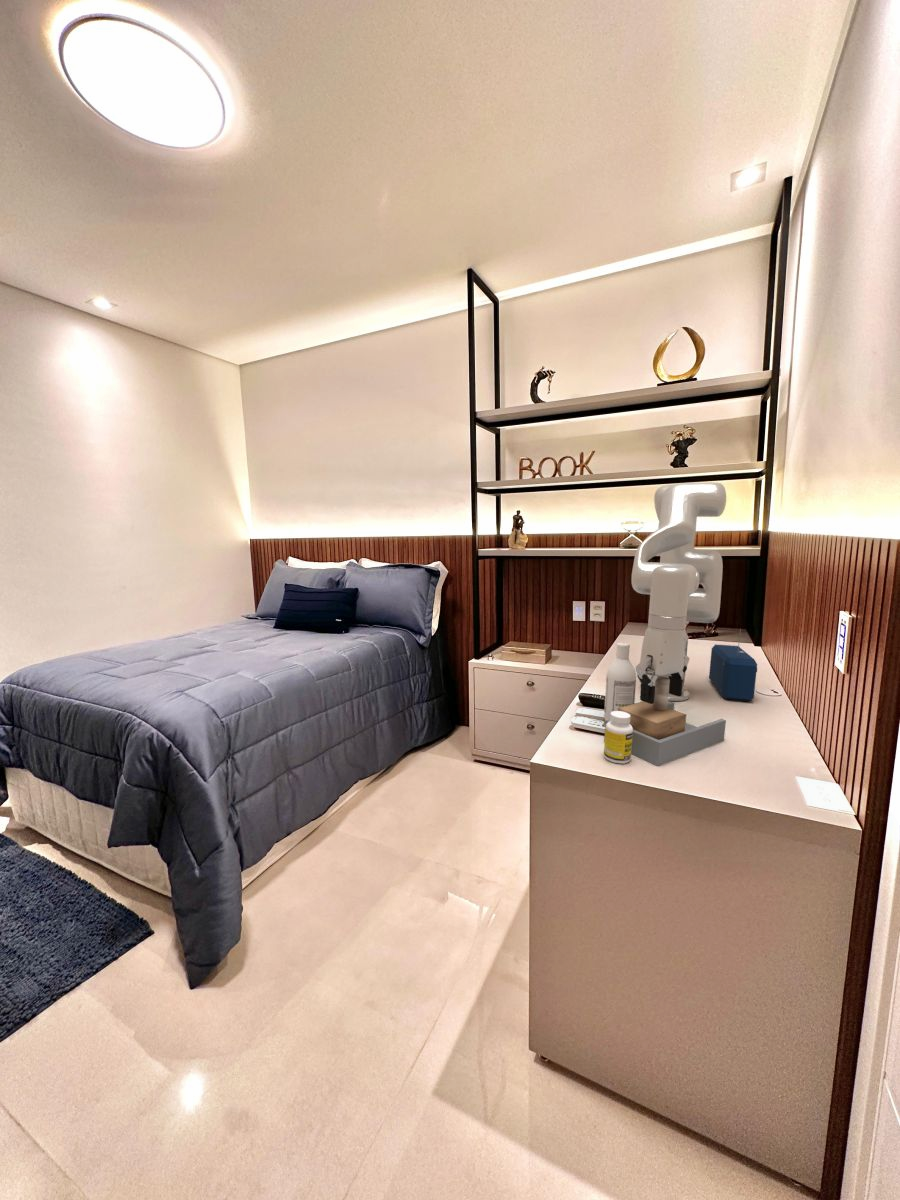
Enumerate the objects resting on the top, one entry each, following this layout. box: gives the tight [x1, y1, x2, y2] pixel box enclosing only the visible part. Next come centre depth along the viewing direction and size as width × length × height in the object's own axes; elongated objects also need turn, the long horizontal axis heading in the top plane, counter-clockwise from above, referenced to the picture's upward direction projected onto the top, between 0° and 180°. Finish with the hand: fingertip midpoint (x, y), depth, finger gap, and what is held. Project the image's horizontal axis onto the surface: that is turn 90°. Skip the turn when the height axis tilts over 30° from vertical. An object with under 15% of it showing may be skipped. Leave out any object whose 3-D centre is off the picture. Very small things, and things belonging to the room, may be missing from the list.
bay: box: [603, 701, 727, 767], centre depth 115 cm, size 14×24×5 cm, turn 122°
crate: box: [618, 676, 687, 740], centre depth 111 cm, size 10×10×14 cm
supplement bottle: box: [603, 711, 633, 764], centre depth 105 cm, size 5×5×10 cm
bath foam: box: [603, 642, 637, 720], centre depth 124 cm, size 7×7×20 cm
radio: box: [708, 628, 758, 702], centre depth 149 cm, size 21×9×20 cm, turn 164°
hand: (660, 698), depth 112 cm, fingers open, 9 cm apart
